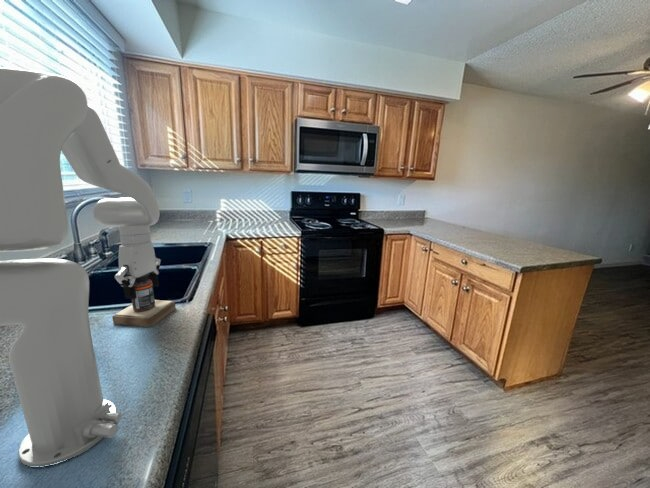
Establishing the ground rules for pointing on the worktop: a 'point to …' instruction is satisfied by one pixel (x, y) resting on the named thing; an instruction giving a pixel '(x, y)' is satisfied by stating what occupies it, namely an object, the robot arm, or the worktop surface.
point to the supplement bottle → (143, 294)
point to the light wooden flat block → (144, 314)
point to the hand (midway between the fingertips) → (143, 292)
